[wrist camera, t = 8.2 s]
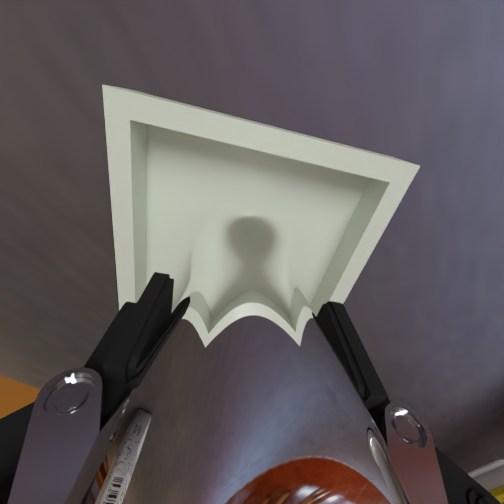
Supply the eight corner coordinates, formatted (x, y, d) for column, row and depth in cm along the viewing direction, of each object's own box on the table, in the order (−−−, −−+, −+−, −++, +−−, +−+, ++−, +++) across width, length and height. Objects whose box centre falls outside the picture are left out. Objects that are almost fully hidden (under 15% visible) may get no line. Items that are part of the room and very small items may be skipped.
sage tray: (392, 156, 13) (420, 166, 11) (307, 328, 20) (314, 354, 18) (129, 89, 11) (102, 84, 9) (135, 303, 18) (120, 329, 16)
